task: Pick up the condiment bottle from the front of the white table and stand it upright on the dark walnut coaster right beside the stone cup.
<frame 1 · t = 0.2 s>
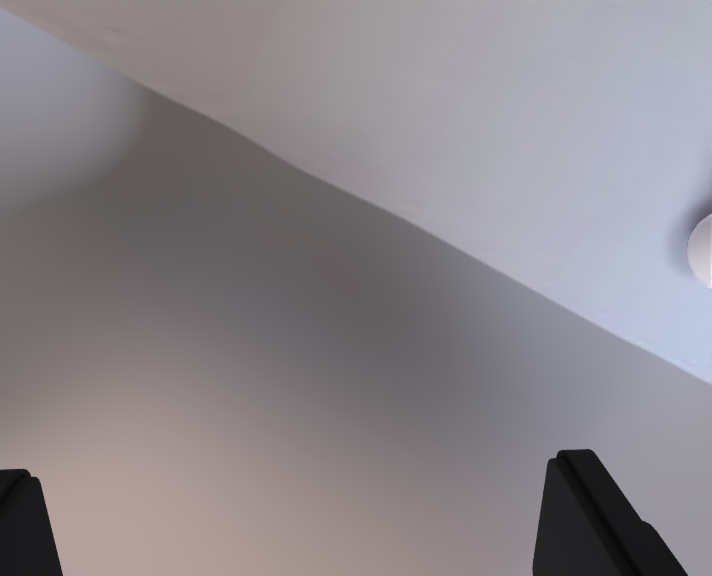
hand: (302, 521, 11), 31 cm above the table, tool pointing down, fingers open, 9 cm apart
egg: (706, 236, 43), on the table
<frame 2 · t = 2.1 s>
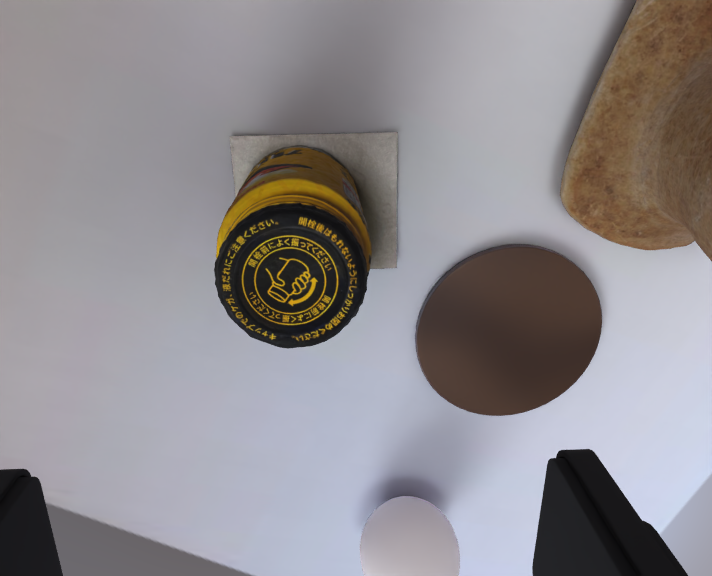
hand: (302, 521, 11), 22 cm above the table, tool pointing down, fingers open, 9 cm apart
coaster: (507, 332, 34), on the table
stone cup: (685, 106, 30), on the table
condiment: (317, 203, 31), on the table
egg: (401, 507, 39), on the table
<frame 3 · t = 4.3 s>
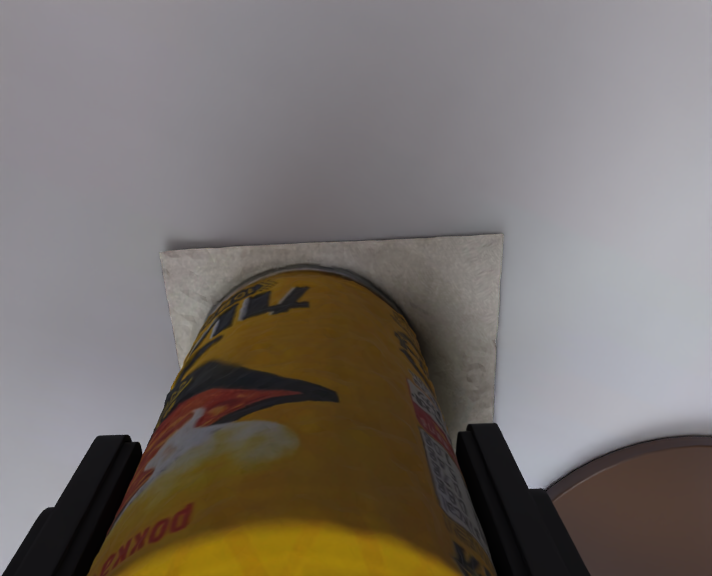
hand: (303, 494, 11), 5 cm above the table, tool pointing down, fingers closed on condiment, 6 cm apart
coaster: (653, 575, 19), on the table
condiment: (339, 365, 16), on the table, touching gripper
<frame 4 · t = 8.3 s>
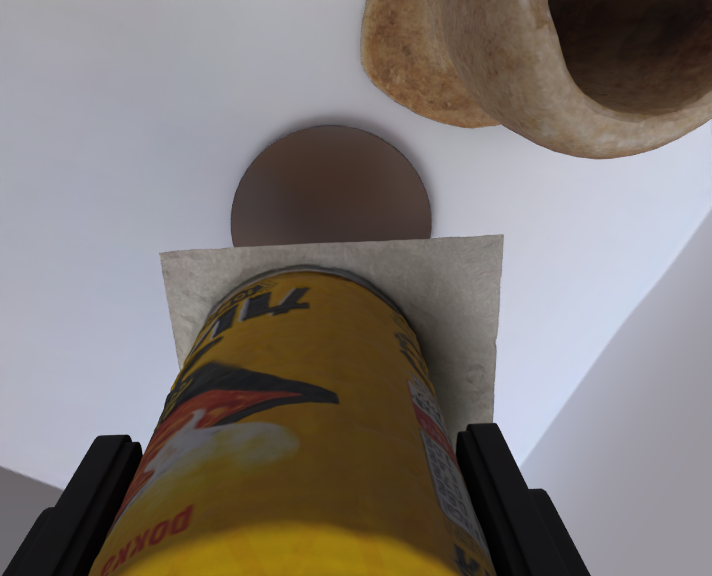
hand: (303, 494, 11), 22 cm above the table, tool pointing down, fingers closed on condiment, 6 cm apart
coaster: (331, 227, 32), on the table
condiment: (339, 366, 16), point 17 cm above the table, touching gripper
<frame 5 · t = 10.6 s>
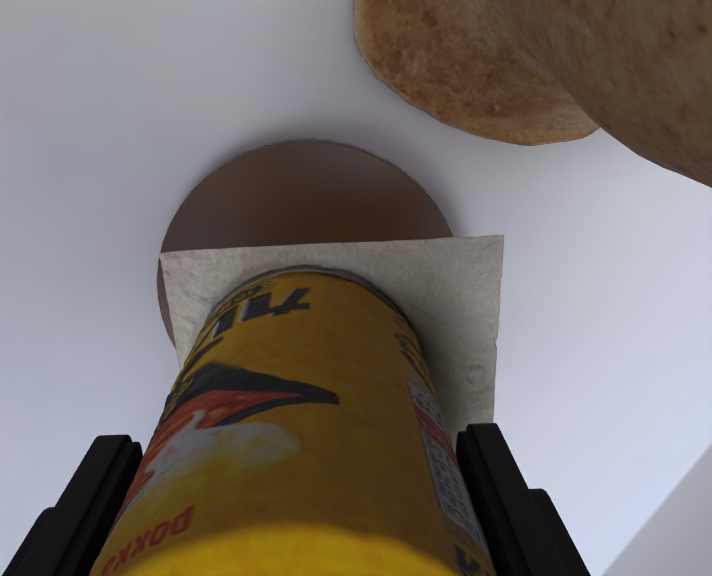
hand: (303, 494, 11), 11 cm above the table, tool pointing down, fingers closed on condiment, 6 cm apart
coaster: (311, 291, 22), on the table
condiment: (340, 366, 16), point 6 cm above the table, touching gripper
when the fingers open (5 cm above the table, at t = 12.4 s): condiment stays where it is, resting on coaster.
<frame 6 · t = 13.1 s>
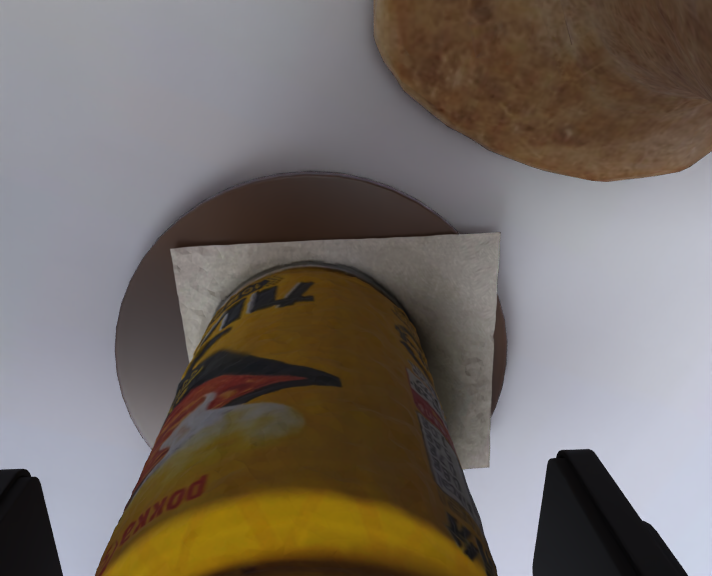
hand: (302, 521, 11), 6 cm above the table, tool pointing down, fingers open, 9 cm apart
coaster: (315, 361, 17), on the table
condiment: (342, 359, 17), resting on coaster
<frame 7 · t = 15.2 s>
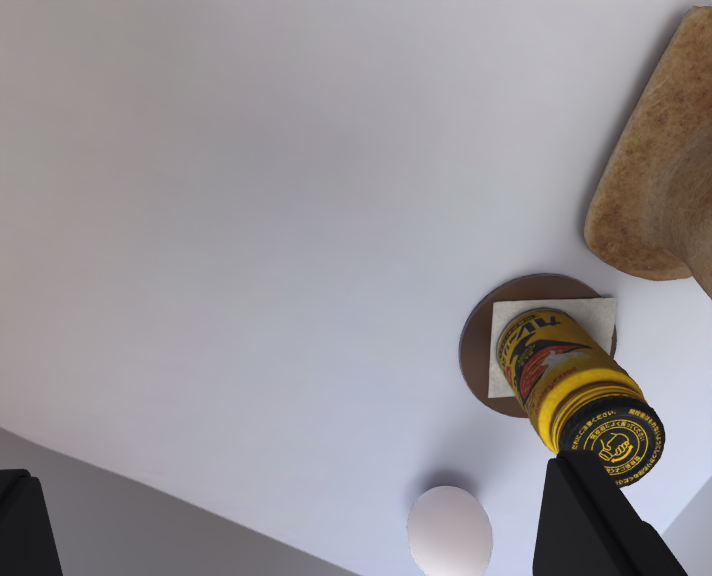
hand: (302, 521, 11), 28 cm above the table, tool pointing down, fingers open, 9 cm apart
coaster: (536, 347, 41), on the table
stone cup: (687, 164, 37), on the table
condiment: (549, 346, 41), resting on coaster
egg: (440, 497, 45), on the table
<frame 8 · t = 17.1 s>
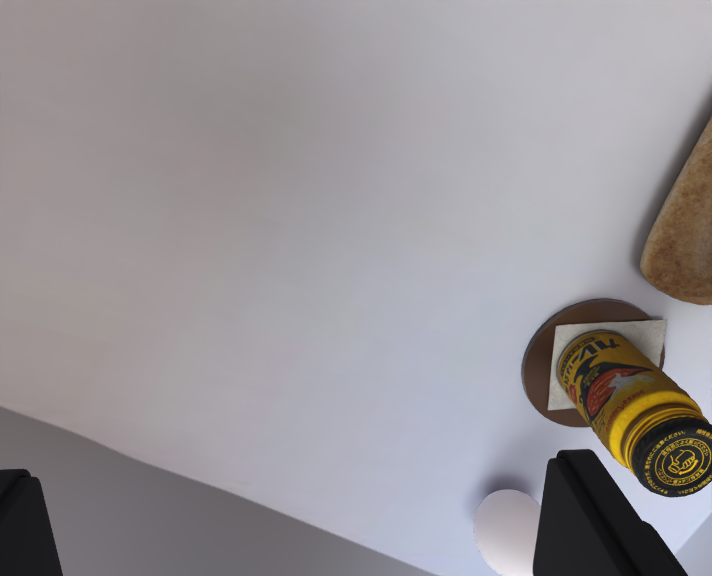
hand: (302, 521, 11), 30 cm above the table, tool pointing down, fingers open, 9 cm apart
coaster: (591, 364, 45), on the table
condiment: (603, 363, 45), resting on coaster
egg: (499, 499, 50), on the table
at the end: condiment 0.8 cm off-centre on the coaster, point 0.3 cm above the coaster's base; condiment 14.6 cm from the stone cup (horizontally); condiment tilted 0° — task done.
